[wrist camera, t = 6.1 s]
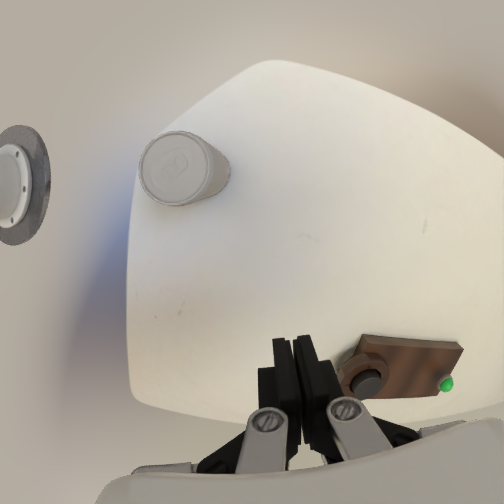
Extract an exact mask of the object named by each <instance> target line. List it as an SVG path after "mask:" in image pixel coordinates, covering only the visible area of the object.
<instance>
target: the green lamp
mask: <svg viewBox="0 0 504 504" xmlns="http://www.w3.org/2000/svg"><path fill="white" fill-rule="evenodd" d="M452 387H453V380H452V376H451V375H450V374H446V375H444V376H443V377H442V378H440V380H439V381H438V383H437V388H438V389H439V390H441V391H443V392H448V391H450V390H451V389H452Z"/></svg>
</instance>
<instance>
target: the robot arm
mask: <svg viewBox="0 0 504 504" xmlns="http://www.w3.org/2000/svg"><path fill="white" fill-rule="evenodd" d="M31 190H32V174H31V167H30V162H29V160H28V157H27V155H26V153H25V151H24V150H23V149H22V148H21V147H20V146H18V145H16V144H6V145H4V146H2V147H1V148H0V226H1V227H3V228H9V227H13V226H15V225H17V224H18V223H19V222H20V221H21V220H22V219H23V217H24V215H25V213H26V211H27V209H28V206H29V202H30V197H31ZM272 341H273V353H274V365H275V367H267V368H258V398H259V409H258V410H256V411H255V412H253V413H252V414H251V415H250V417H249V419H248V422H247V426H246V430H245V431H244V432H242V433H241V434H239V435H238V436H237V437H235V438H234V439H233V440H231V441H230V442H228V443H227V444H225V445H224V446H223V447H221V448H220V449H218V450H217V451H215V452H214V453H212V454H211V455H209V456H208V457H206V458H204V459H203V460H202V461H201V462H200V463H198V464H191V462H187V463H178V464H166V465H151V466H150V465H149V466H141V467H138V468H136V469H135V470H134V471H133V472H132V473H131V475H127V476H123V477H120V478H117V479H115V480H113V481H111V482H110V483H109V484H107V485H106V487H105V488H104V489H103V490H102V492H101V494H100V495H99V497H98V499H97V501H96V503H95V504H504V421H503V420H501V419H498V418H482V419H475V420H471V421H468V422H467V421H463V420H462V421H455V422H450V423H446V424H441V425H436V426H431V427H425V428H420V430H419V431H414V430H412V429H410V428H407V427H404V426H401V425H397V424H394V423H391V422H388V421H385V420H382V419H379V418H376V417H374V416H371V415H370V413H369V412H368V410H367V409H366V407H365V406H364V404H363V403H362V402H361V401H360V400H358V399H356V398H353V397H345V396H344V394H343V391H342V388H341V386H340V383H339V381H338V378H337V376H336V373H335V371H334V368H333V365H332V363H331V361H330V360H324V361H318V358H317V355H316V352H315V349H314V346H313V343H312V340H311V337H310V335H302V336H297V339H295V340H293V354H292V350H291V345H290V341H289V340H286V341H285V338H276V339H272ZM293 357H294V359H293ZM301 426H302V431H303V437H304V443H305V444H308V443H309V444H310V449H311V450H314V451H316V452H319V453H321V457H322V460H323V463H324V466H319V467H313V468H306V469H298V470H290V471H289V460H290V459H291V458H292V457H293V456H294V455H296V454H297V452H298V445H301Z"/></svg>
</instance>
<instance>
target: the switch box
mask: <svg viewBox="0 0 504 504" xmlns="http://www.w3.org/2000/svg"><path fill="white" fill-rule="evenodd" d="M463 350H464V349H463V348H462V347H461V346H460V345H459V344H458V343H457V342H443V341H427V340H414V339H403V338H392V337H382V336H373V335H365V334H363V335H362V337H361V339H360V342H359V344H358V346H357V349H356V351H355V353H354V356H353V357H352V358H351V359H349V360H348V361H347V362H346V363H345V364H344V365H342V366H341V368H340V370H339V372H338V374H337V378H338V381H339V383H340V386H341V388H342V391H343V394H344V396H345V397H353V398H356V399H358V398H357V397H356V396H355V394H354V392H353V390H352V387H351V382H352V379H353V378H354V376H355V375H357V374H358V373H359V372H361V371H363V370H366V369H373V370H375V371H377V373H378V374H379V376H380V378H381V380H382V382H383V385H382V388H381V390H380V391H379V393H377V394H376V395H375V396H373V397H372V398H369V399H394V398H415V397H429V396H437V395H438V393H439V392H440V390H439V389H438V388H437V383H438V381H439V380H440V378H442V377H443V376H444V375H446V374H451V372H452V370H453V369H454V367H455V365H456V363H457V361H458V360H459V358H460V356H461V354H462V352H463ZM358 400H360V401H362V399H358ZM364 400H365V399H364Z"/></svg>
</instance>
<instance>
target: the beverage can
mask: <svg viewBox="0 0 504 504" xmlns="http://www.w3.org/2000/svg"><path fill="white" fill-rule="evenodd" d="M229 176H230V165H229V162H228V160H227V159H226V157H225V156H224V155H223V154H222V153H221V152H219V151H218V150H217V149H215V148H214V147H213V146H211V145H210V144H208V143H207V142H206V141H204V140H203V139H202V138H200V137H198V136H196V135H195V134H193V133H190V132H185V131H172V132H167V133H164V134H161V135H159V136H158V137H156V138H155V139H153V140H152V141H151V142H150V143H149V144H148V145H147V146H146V148H145V150H144V151H143V153H142V155H141V158H140V162H139V178H140V182H141V185H142V187H143V189H144V190H145V192H146V193H147V194H148V195H149V196H150V197H151V198H152V199H153V200H155V201H157V202H158V203H161V204H164V205H168V206H184V205H187V204H191V203H194V202H196V201H199V200H202V199H204V198H207V197H210V196H212V195H215V194H217V193H218V192H220V191H221V190H222V189H223V188H224V187H225V185H226V183H227V182H228V179H229Z"/></svg>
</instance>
